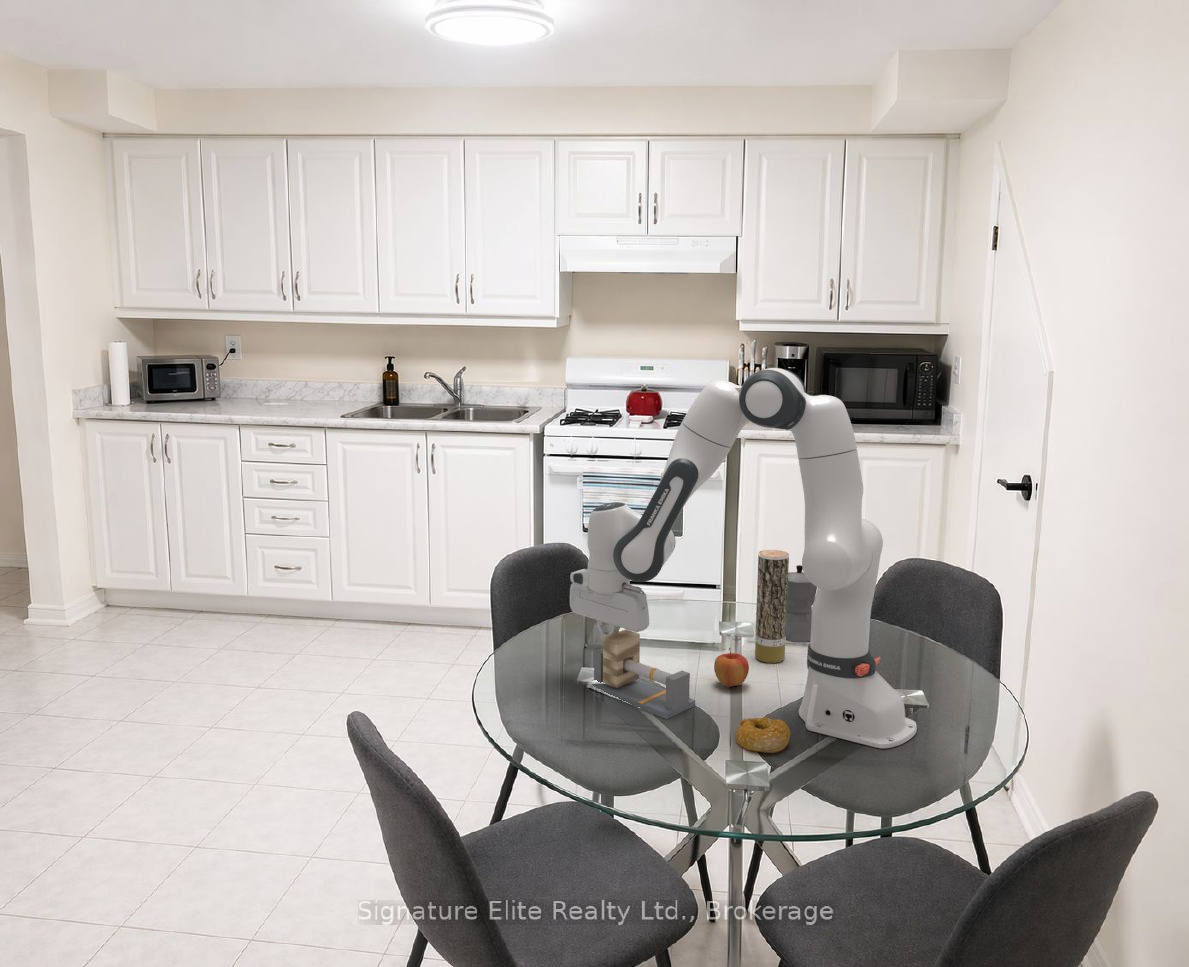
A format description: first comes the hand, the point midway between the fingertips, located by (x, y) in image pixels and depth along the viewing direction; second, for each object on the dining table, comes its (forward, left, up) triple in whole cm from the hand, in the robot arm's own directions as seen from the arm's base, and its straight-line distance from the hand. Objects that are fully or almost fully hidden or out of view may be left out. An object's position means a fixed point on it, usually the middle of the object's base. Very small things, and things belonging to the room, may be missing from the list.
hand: (608, 641), depth 203 cm
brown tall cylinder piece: (-16, -37, -10) cm, 41 cm away
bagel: (-39, 0, -10) cm, 41 cm away
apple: (-19, -18, -10) cm, 28 cm away
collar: (-4, 0, -8) cm, 9 cm away
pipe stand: (-9, 0, -10) cm, 13 cm away
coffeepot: (-13, -55, -10) cm, 57 cm away
